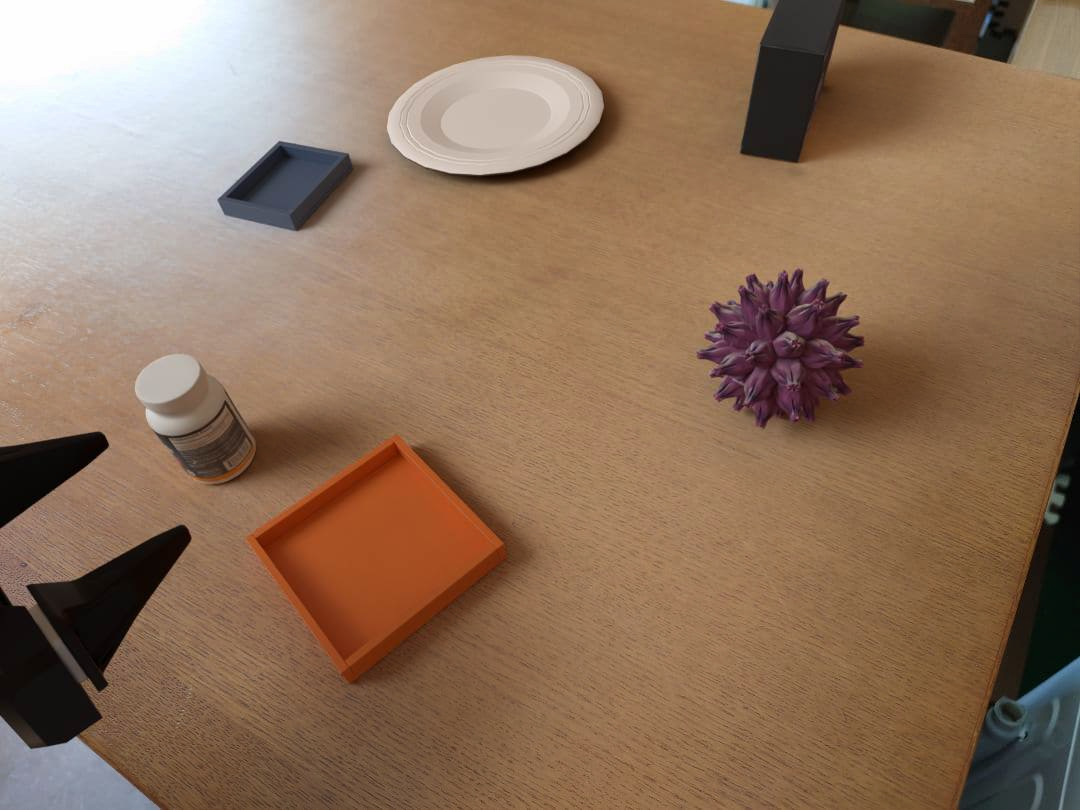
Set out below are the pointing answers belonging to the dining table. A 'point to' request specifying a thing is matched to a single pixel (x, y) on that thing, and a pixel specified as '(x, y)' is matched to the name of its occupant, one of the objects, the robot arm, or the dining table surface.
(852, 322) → the flower
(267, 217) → the blue tray
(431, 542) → the orange tray
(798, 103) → the box
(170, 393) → the pill bottle
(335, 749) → the dining table surface
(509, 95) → the plate
